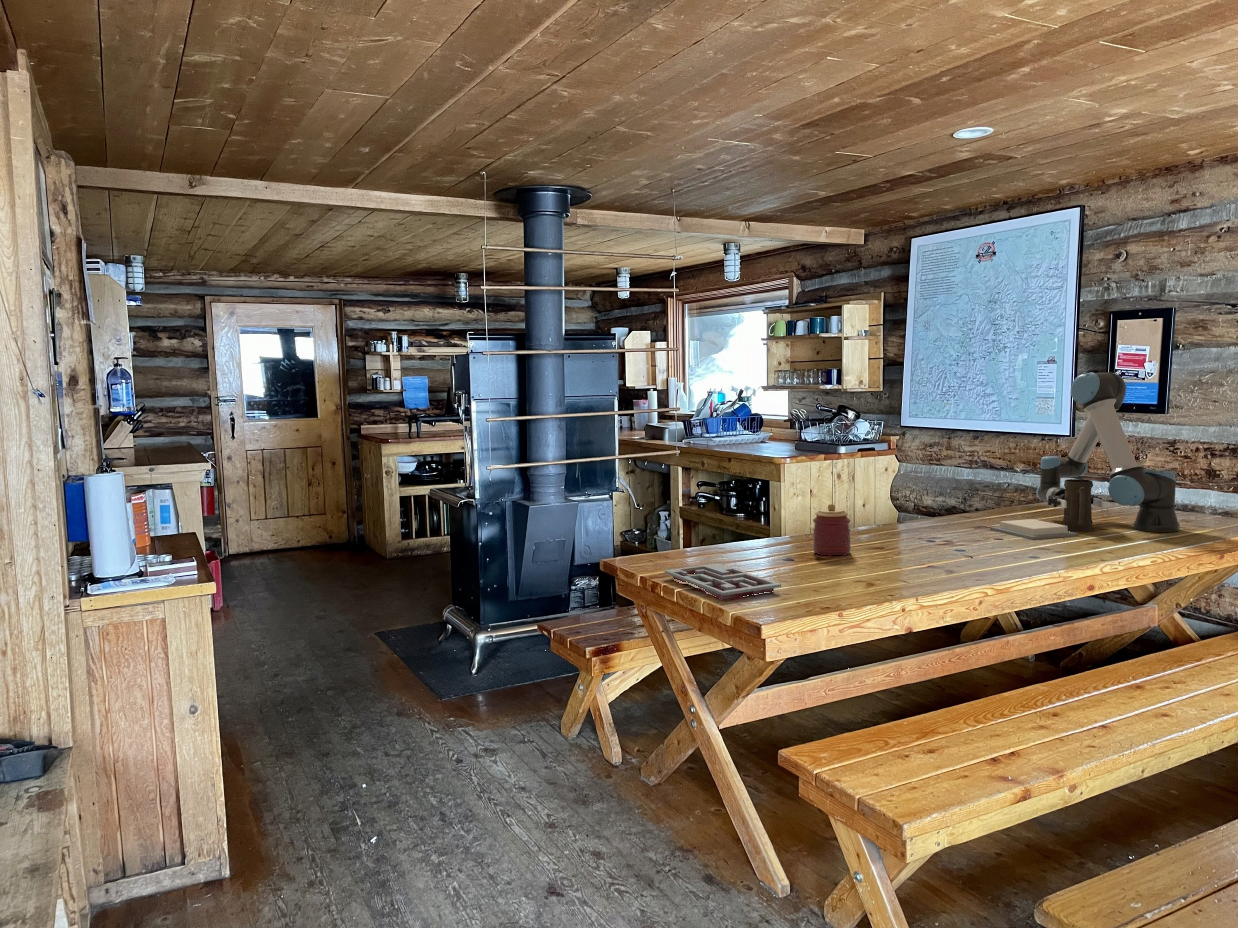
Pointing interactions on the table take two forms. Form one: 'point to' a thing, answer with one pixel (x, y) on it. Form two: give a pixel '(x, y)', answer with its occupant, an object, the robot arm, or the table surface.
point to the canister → (831, 532)
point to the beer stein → (1078, 505)
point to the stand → (1033, 529)
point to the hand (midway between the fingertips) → (1083, 504)
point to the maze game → (723, 580)
